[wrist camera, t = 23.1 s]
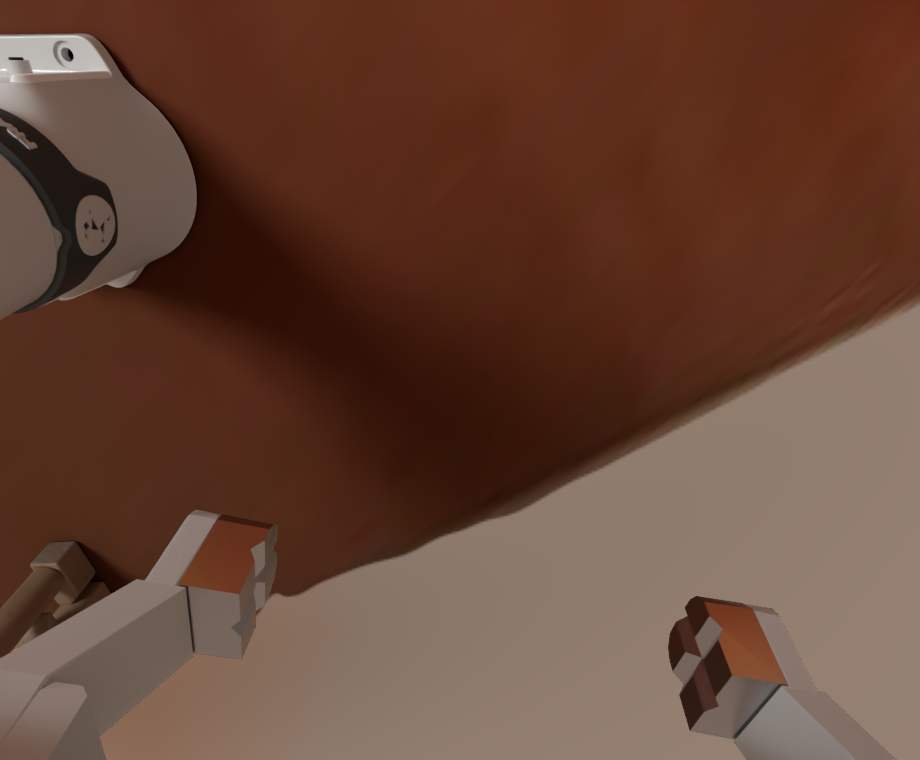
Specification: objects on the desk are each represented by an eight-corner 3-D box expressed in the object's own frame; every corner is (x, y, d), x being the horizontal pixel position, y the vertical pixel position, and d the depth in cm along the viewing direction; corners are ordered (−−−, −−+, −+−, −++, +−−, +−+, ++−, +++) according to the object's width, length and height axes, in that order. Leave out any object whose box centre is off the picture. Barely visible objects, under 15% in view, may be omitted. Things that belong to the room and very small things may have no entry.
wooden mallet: (91, 599, 72) (-20, 750, 56) (49, 540, 67) (-86, 689, 51) (117, 598, 71) (12, 749, 56) (77, 539, 66) (-51, 688, 51)
